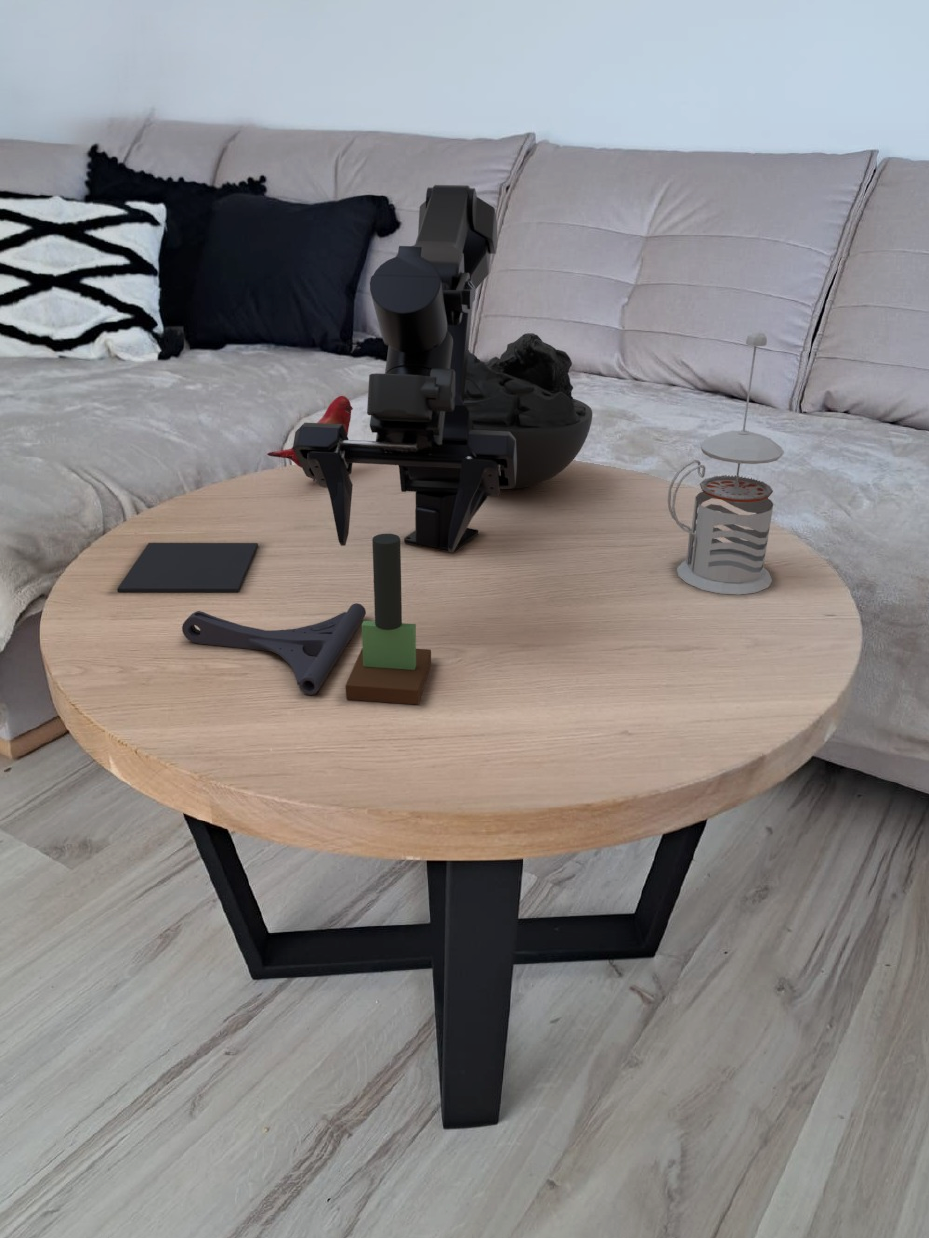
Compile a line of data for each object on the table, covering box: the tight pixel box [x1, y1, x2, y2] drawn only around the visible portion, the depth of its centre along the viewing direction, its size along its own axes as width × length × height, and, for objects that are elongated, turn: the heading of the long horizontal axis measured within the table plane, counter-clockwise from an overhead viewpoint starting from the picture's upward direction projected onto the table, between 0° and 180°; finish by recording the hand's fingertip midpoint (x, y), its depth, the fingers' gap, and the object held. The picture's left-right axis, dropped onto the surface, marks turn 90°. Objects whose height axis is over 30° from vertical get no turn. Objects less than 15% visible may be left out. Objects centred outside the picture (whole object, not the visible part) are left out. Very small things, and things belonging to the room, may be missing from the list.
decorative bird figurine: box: [266, 395, 354, 482], centre depth 127 cm, size 3×18×10 cm, turn 150°
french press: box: [667, 331, 785, 596], centre depth 99 cm, size 10×12×25 cm
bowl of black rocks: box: [464, 332, 594, 489], centre depth 126 cm, size 20×20×19 cm
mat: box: [116, 542, 259, 593], centre depth 105 cm, size 12×12×1 cm
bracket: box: [181, 602, 367, 696], centre depth 89 cm, size 14×15×3 cm
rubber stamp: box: [345, 533, 432, 705], centre depth 81 cm, size 7×6×13 cm
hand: (395, 546), depth 83 cm, fingers open, 9 cm apart
